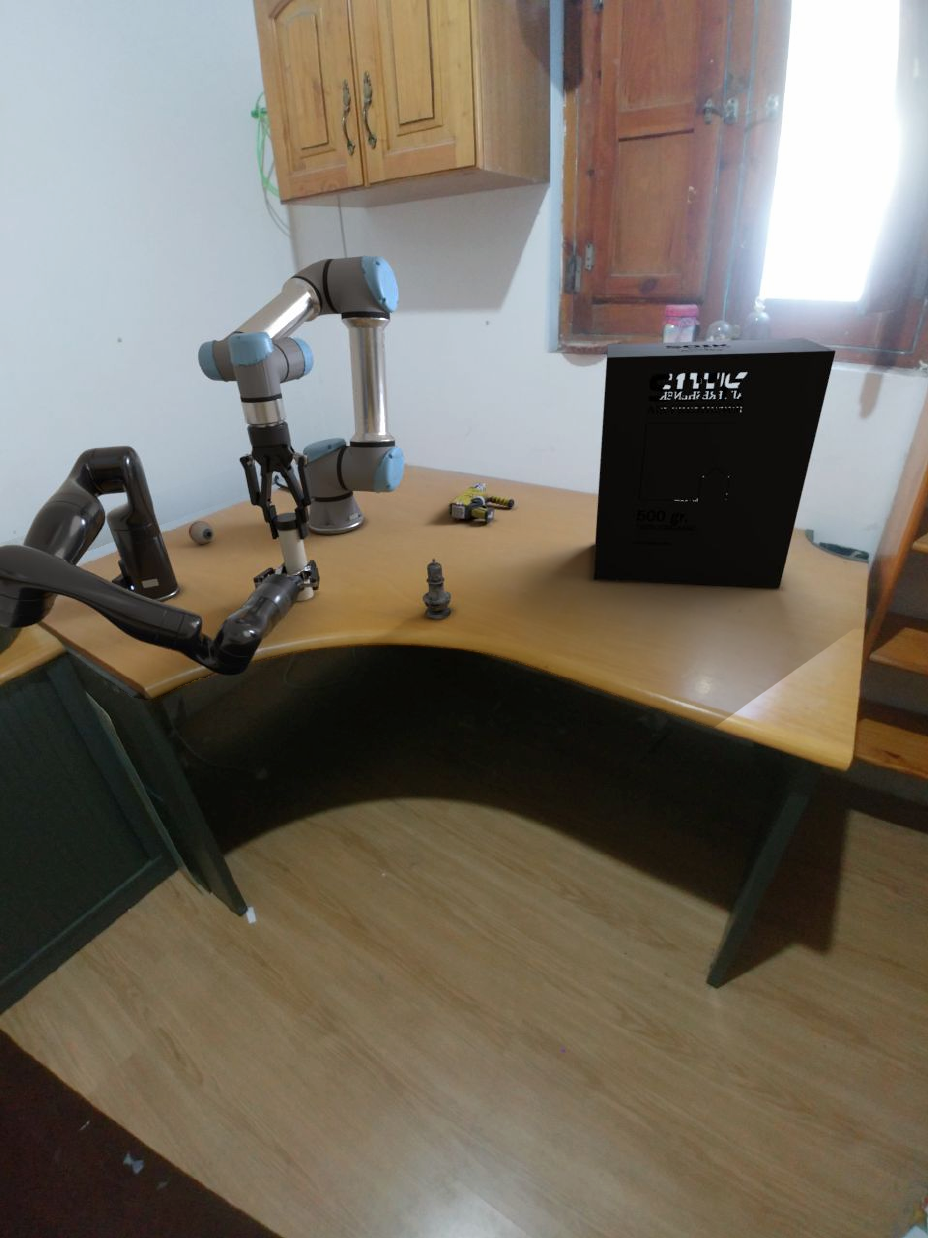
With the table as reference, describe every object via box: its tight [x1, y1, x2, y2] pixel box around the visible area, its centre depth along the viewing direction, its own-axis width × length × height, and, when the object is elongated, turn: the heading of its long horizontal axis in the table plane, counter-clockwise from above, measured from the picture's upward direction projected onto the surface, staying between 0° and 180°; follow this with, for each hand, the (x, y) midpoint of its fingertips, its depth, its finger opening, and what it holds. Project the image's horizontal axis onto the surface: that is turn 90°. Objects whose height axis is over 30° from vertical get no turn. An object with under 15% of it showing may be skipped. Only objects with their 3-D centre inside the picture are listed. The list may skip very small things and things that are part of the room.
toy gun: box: [448, 481, 515, 523], centre depth 173 cm, size 5×24×15 cm
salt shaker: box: [422, 558, 453, 620], centre depth 120 cm, size 6×6×12 cm
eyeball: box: [188, 520, 214, 545], centre depth 161 cm, size 6×6×6 cm
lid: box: [273, 512, 298, 530], centre depth 124 cm, size 6×6×2 cm
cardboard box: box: [592, 337, 836, 589], centre depth 125 cm, size 38×20×45 cm, turn 78°
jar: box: [277, 528, 315, 602], centre depth 128 cm, size 5×5×18 cm
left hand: (301, 563), depth 132 cm, fingers closed on jar, 4 cm apart
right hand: (290, 536), depth 126 cm, fingers closed on lid, 5 cm apart
